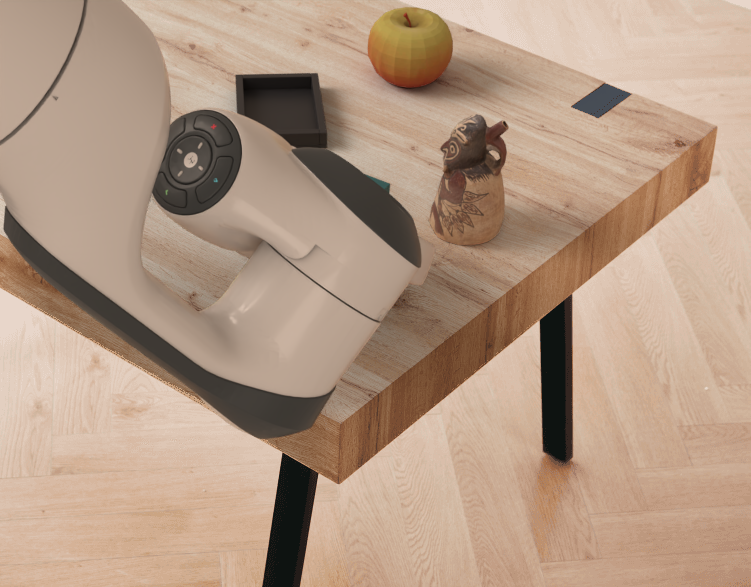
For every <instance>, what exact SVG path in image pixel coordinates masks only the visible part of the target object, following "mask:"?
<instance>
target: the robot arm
mask: <svg viewBox="0 0 751 587" xmlns="http://www.w3.org/2000/svg"><path fill="white" fill-rule="evenodd" d="M171 94H172V93H171V85H170V78H169V72H168V68H167V64H166V60H165V58H164V54H163V51H162V49H161V47H160V44H159V42H158V40H157V37H156V36H155V33H154V32H153V31H152V29H151V28H150V27H149V26H148V25H147V23H146V22H145V21H143V20H142V18H141V17H140V16H139V15H138V14H137V13H136V12H135V11H133V9H132V8H131V7H129V6H128V4H127V3H125V1H123V0H0V196H1V198H2V200H3V201H4V204H5V205H4V215H3V216H4V217H3V228H2V229H3V232H4V233H5V235H6V237H7V238H8V240H9V242H10V243H11V245H12V246H13V248H14V249H15V250H16V251H17V253H18V254H19V255H20V256H21V258H22V259H23V260H24V261H25V262H26V263H27V264H28V266H30V267H31V268H32V269H33V271H35V272H36V273H37V274H38V275H39V276H40V277H41V278H42V279H43V280H45V281H46V282H47V283H48V284H49V285H50V286H52V287H53V288H54V289H55V290H56V291H58V292H59V293H61V294H62V295H63V296H64V297H65V298H67V299H68V300H69V301H70V302H71V303H73V304H74V305H75V306H77V307H78V308H79V309H81V310H82V311H83V312H85V313H86V314H87V315H89V316H90V317H91V318H92V319H94V320H95V321H97V323H99V324H100V325H102V326H103V327H104V328H106V329H107V330H109V331H110V332H112V333H113V334H114V335H116V336H117V337H118V338H120V340H122V341H124V342H125V343H126V344H128V345H129V346H131V347H132V348H133V349H135V350H136V351H138V352H139V353H140V354H142V355H143V356H145V357H146V358H148V359H149V361H152V362H153V363H154V364H156V365H157V366H158V367H160V368H161V369H162V370H164V371H165V372H167V373H168V374H170V375H171V376H172V377H174V378H175V379H177V380H178V381H179V382H181V383H182V384H183V385H185V387H187V388H188V389H190V390H191V391H192V392H193V393H194V394H196V395H197V397H198V398H200V400H201V401H202V402H203V403H204V404H205V405H206V406H207V407H208V408H209V409H210V410H211V411H212V412H213V413H214V414H216V415H217V417H219V418H220V419H222V420H223V421H224V422H226V423H227V424H229V425H230V426H232V427H233V428H234V429H236V430H238V431H240V432H242V433H244V434H247V435H250V436H253V437H254V438H256V439H259V440H270V439H277V438H283V437H286V436H291V435H294V434H298V433H301V432H305V431H307V430H310V429H312V427H313V426H314V424H315V423H316V421H317V419H318V418H319V416H320V414H321V413H322V411H323V410H324V408H325V407H326V404H327V403H328V401H329V399H331V396H332V395H333V393H334V392H335V390H336V388H337V385H338V383H339V382H340V380H341V379H342V378H343V377H344V374H345V373H346V372H347V371H348V370H349V368H350V367H351V365H352V364H353V363H354V361H355V360H356V359H357V357H358V356H359V355H360V353H361V351H363V349H364V348H365V346H366V345H367V343H368V342H369V341H370V340H371V338H372V336H373V335H374V334H375V333H376V332H377V330H378V329H379V328H380V326H381V325H382V323H383V320H384V318H385V317H386V316H387V315H388V313H389V312H390V310H391V309H392V308H393V307H394V305H395V304H396V302H397V301H398V299H400V297H401V295H402V294H403V293H404V291H405V290H406V289H407V287H408V286H409V285H412V286H422V285H423V284H424V283H425V281H426V279H427V277H428V274H429V272H430V269H431V266H432V264H433V261H434V258H435V254H436V247H435V245H434V244H433V243H431V242H430V241H428V240H426V239H424V238H422V237H421V236H419V233H418V230H417V227H416V224H415V220H414V218H413V217H412V215H411V214H410V212H409V211H408V210H407V209H406V208H405V206H403V204H401V203H400V202H399V201H398V200H397V199H396V198H395V197H394V196H393V195H392V194H389V193H388V192H387V191H386V190H385V189H383V188H382V187H381V186H380V185H378V184H377V183H376V182H374V181H373V180H372V179H370V178H369V177H367V176H366V175H367V174H366V173H364V172H362V171H361V169H359V168H358V167H356V166H355V165H354V164H352V163H351V162H350V161H348V160H347V159H345V158H343V157H342V156H341V155H339V154H337V153H335V152H333V150H330V149H329V148H311V147H303V148H296V147H294V146H291V145H290V144H289V143H288V142H287V141H286V140H285V139H284V138H282V137H281V136H280V135H278V134H277V133H275V132H274V131H272V130H271V129H269V128H267V127H266V126H264V125H262V124H260V123H258V122H256V121H254V120H252V119H250V118H248V117H246V116H243V115H240V114H238V113H237V112H234V111H232V110H229V109H224V108H219V107H209V106H208V107H201V108H195V109H193V110H190V111H188V112H186V113H183V114H181V115H180V116H179V117H177V118H176V119H174V120H173V121H172V120H171V119H172V95H171ZM171 121H172V122H171ZM365 174H366V175H365ZM151 198H152V199H153V202H154V203H155V204H156V206H157V207H158V209H159V210H160V211H161V212H162V213H163V214H164V215H165V216H166V217H168V218H169V219H170V220H171V221H172V222H174V223H175V224H177V225H178V226H179V227H180V228H182V229H184V230H185V231H187V232H189V233H190V234H192V235H193V236H195V237H197V238H199V239H200V240H202V241H204V242H207V243H209V244H211V245H213V246H216V247H217V248H220V249H224V250H227V251H232V252H236V253H237V254H239V255H240V256H243V257H245V258H247V259H248V260H247V261H246V263H244V265H243V267H242V268H241V269H240V270H239V272H238V274H237V275H236V276H235V278H234V279H233V280H232V282H231V283H230V285H229V286H228V287H227V288H226V290H225V291H224V293H223V294H221V296H220V297H219V298H218V299H217V300H216V301H215V302H213V303H212V304H211V305H209V306H208V307H206V308H203V309H201V310H197V309H196V308H194V307H193V306H192V305H191V304H190V303H188V301H186V300H185V299H184V298H182V297H181V296H180V295H179V294H177V293H176V292H175V291H174V290H172V289H171V288H170V287H168V285H166V284H165V283H164V282H163V281H161V280H160V279H159V278H158V277H157V276H156V275H154V274H153V273H152V272H151V271H149V270H148V269H147V268H146V267H145V266H144V264H143V260H142V258H143V257H142V244H143V243H142V242H143V235H144V229H145V222H146V217H147V213H148V209H149V204H150V200H151Z"/></svg>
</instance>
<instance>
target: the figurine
mask: <svg viewBox="0 0 751 587" xmlns="http://www.w3.org/2000/svg"><path fill="white" fill-rule="evenodd" d="M508 130H509V125H508V123H507V122H506V120H504V119H503V120H500V121H499V122H497V123H495V124H494V125H492V126H489V125H488V124H487V122H486V119H485V118H484V116H482V115H481V114H478V113H476V114H473V115H470V116H468V117H466V118H463V119H462V120H460V122H458V123H457V124H456V126H454V128H453V129H452V131H451V133H450V136H449V138H448V140H446V141H445V142H444V143H443V144H442V145H441V146H440V148H439V149H440V151H441V152H442V154H443V157H442V165H443V166H442V169H441V170H442V171H441V172H442V176H441V177H440V181H439V185H438V188H437V192H436V195H435V197H434V199H433V202H432V205H431V206H430V213H429V217H428V220H427V221H428V223H429V225H430V226H431V230H433V232H434V234H435V235H436V237H437V238H439V239H440V240H442V241H444V242H447V243H449V244H453V245H457V246H474V245H481V244H484V243H485V244H486V243H488V242H489V241H492V240H494V239H495V238H496V237H497V236H498V235H499V233H500V232H501V229H502V226H503V223H504V219H505V212H506V202H505V201H506V199H505V198H506V197H505V187H504V178H503V173H502V169H503V168H504V166H505V164H506V161H507V154H508V151H507V144H506V143H505V140H504V139H503V137H502V135H503V134H504V133H506V132H507V131H508ZM491 151H493V152H496V153H497V154H498V156H499V158H498V159H496V158H495V157H494V155H493V154H492V153H491Z"/></svg>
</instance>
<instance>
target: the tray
mask: <svg viewBox="0 0 751 587" xmlns="http://www.w3.org/2000/svg"><path fill="white" fill-rule="evenodd" d="M235 96H236V97H235V98H236V99H235V100H236V113H238V114H240V115H243V116H246V117H248V118H250V119H252V120H254V121H256V122H258V123H260V124H262V125H264V126H266V127H267V128H269V129H271V130H272V131H274V132H275V133H277V134H278V135H280V136H281V137H282V138H284V139H285V140H286V141H287V142H288V143H289V144H290V145H291V146H294V147H296V148H303V147H311V148H325V149H328V130H327V123H326V117H325V116H326V115H325V111H324V105H323V104H324V103H323V98H322V91H321V85H320V77H319V73H318V72H298V73H297V72H295V73H294V72H293V73H292V72H291V73H289V72H288V73H250V74H249V73H248V74H247V73H246V74H235Z"/></svg>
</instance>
